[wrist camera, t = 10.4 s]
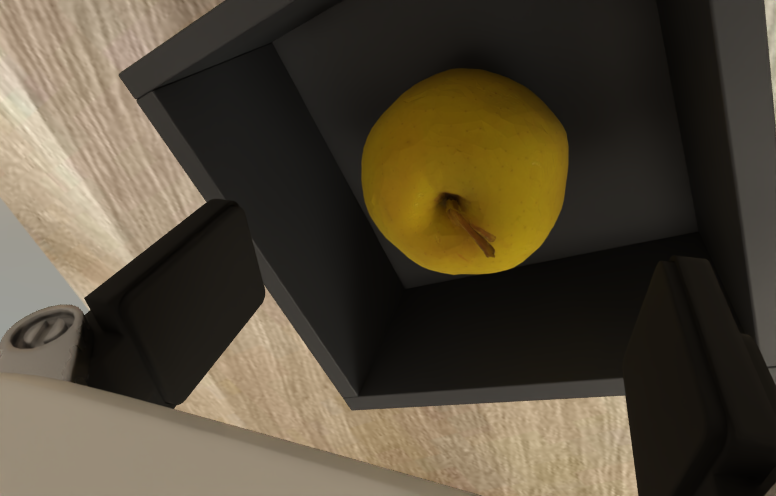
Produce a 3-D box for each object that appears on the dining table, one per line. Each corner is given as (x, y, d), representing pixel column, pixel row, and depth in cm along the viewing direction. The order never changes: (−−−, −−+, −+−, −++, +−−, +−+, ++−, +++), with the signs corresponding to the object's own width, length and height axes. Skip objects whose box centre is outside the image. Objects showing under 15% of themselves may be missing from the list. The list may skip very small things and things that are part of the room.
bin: (253, 28, 19) (116, 74, 13) (649, -217, 12) (734, -353, 6) (400, 296, 25) (351, 411, 19) (722, 236, 18) (799, 386, 12)
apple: (583, 182, 18) (599, 318, 12) (432, 215, 21) (380, 340, 14) (545, 12, 15) (539, 71, 9) (377, 78, 18) (283, 158, 12)
